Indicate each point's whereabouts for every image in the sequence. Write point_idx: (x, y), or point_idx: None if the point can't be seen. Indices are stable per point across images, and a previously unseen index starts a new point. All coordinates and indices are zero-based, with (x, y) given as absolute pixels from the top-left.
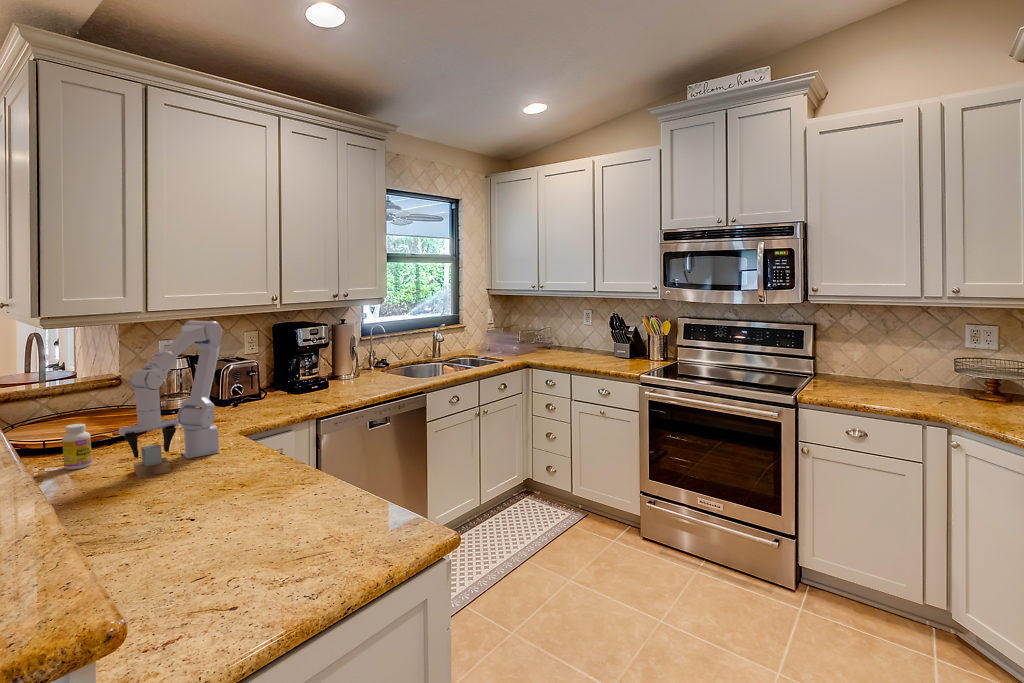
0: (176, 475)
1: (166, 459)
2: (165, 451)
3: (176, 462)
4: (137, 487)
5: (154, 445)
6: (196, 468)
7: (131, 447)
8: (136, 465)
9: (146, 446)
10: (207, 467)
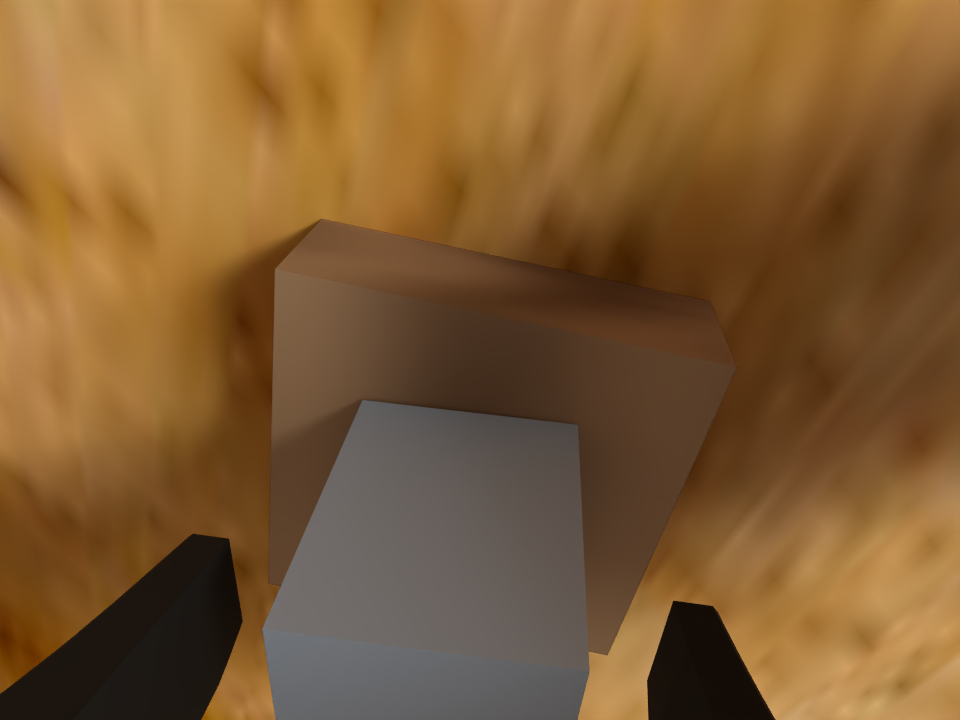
0: (589, 665)
1: (679, 474)
2: (655, 655)
3: (874, 287)
4: (261, 668)
5: (510, 700)
6: (822, 646)
7: (45, 685)
8: (285, 410)
9: (360, 656)
10: (899, 692)
